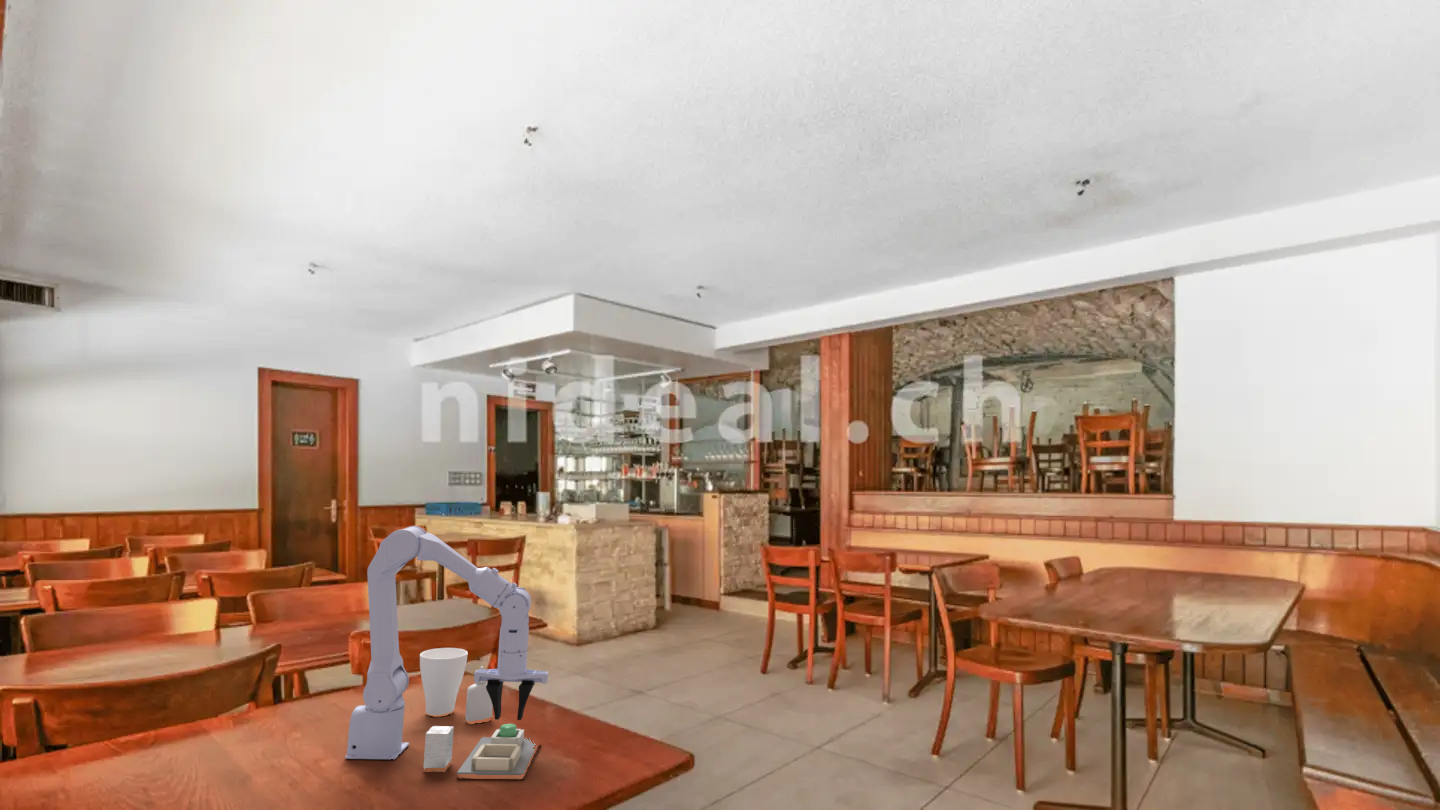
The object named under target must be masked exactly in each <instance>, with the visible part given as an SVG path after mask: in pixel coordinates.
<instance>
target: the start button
mask: <svg viewBox="0 0 1440 810" xmlns="http://www.w3.org/2000/svg"><path fill="white" fill-rule="evenodd" d="M499 729H500V737H516V729H517V725H516V724H514V723H504V724H501V725H500V727H499Z"/></svg>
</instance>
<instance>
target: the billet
mask: <svg viewBox="0 0 1440 810" xmlns="http://www.w3.org/2000/svg"><path fill="white" fill-rule="evenodd" d="M454 727H455V726H452V725H451V726H449V725H447V726H446V725H443V726H441V725H432V727H430V728H429V729H428V730H427V731H426V733H425V740H424V756H423V768H424V769H425V768H445V767H446V766H447V765H448V763H449V762H450V761H451V759H452V758H453V744H454V743H453V742H454V729H455V728H454ZM451 762H452V761H451ZM423 768H422V769H423Z"/></svg>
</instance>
